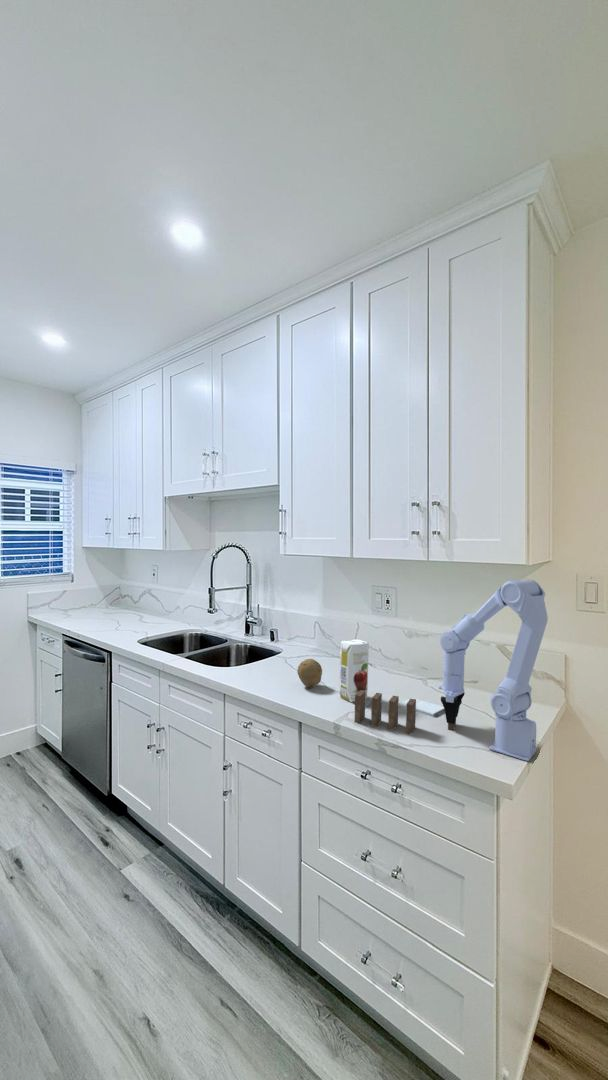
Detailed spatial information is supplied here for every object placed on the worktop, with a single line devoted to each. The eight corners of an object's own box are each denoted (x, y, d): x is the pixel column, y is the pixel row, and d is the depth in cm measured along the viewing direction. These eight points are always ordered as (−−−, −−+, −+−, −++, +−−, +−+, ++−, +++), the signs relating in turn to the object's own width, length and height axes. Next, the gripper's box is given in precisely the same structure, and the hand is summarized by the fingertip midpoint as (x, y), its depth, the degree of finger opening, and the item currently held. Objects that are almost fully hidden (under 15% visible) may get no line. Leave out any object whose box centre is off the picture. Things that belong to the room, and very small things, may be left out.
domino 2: (381, 720, 138) (381, 693, 138) (376, 726, 133) (377, 698, 133) (375, 719, 139) (376, 692, 138) (371, 725, 134) (371, 697, 134)
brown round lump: (301, 681, 173) (302, 654, 173) (324, 684, 170) (325, 657, 170) (294, 689, 164) (294, 660, 164) (318, 692, 162) (319, 663, 161)
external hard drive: (433, 719, 142) (398, 707, 150) (446, 712, 148) (411, 701, 156) (433, 713, 142) (398, 702, 150) (446, 707, 148) (412, 696, 156)
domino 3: (397, 723, 136) (398, 696, 136) (393, 730, 131) (394, 701, 131) (392, 722, 136) (393, 695, 136) (388, 729, 132) (388, 700, 132)
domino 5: (455, 724, 137) (456, 697, 137) (453, 730, 132) (454, 702, 132) (450, 723, 137) (451, 696, 137) (447, 729, 133) (448, 701, 133)
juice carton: (336, 696, 157) (337, 640, 157) (356, 692, 162) (357, 638, 162) (350, 703, 151) (351, 645, 151) (370, 699, 156) (372, 642, 155)
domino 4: (415, 727, 134) (416, 699, 134) (411, 733, 129) (412, 704, 129) (409, 726, 134) (410, 698, 134) (405, 732, 130) (406, 703, 130)
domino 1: (364, 717, 140) (365, 690, 140) (359, 723, 135) (360, 695, 135) (359, 716, 141) (360, 689, 141) (354, 722, 136) (355, 694, 136)
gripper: (442, 664, 143) (441, 709, 143) (435, 677, 130) (433, 726, 130) (467, 668, 140) (465, 713, 140) (461, 681, 127) (460, 731, 127)
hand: (452, 719), depth 135 cm, fingers closed on domino 5, 5 cm apart
